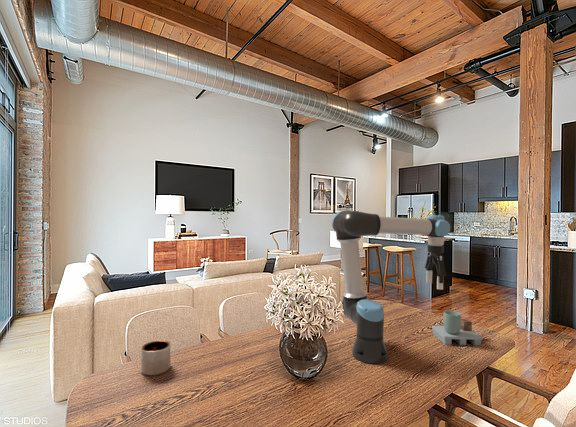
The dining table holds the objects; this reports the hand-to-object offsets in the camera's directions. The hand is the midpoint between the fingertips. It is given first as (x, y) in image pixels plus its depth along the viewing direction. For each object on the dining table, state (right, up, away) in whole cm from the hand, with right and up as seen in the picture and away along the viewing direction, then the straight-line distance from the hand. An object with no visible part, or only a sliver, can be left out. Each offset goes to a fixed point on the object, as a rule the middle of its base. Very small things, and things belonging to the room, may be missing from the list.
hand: (434, 286), depth 161 cm
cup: (+6, -22, -6) cm, 24 cm away
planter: (-129, -25, -36) cm, 136 cm away
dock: (+9, -26, -3) cm, 28 cm away
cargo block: (+15, -22, -1) cm, 27 cm away
